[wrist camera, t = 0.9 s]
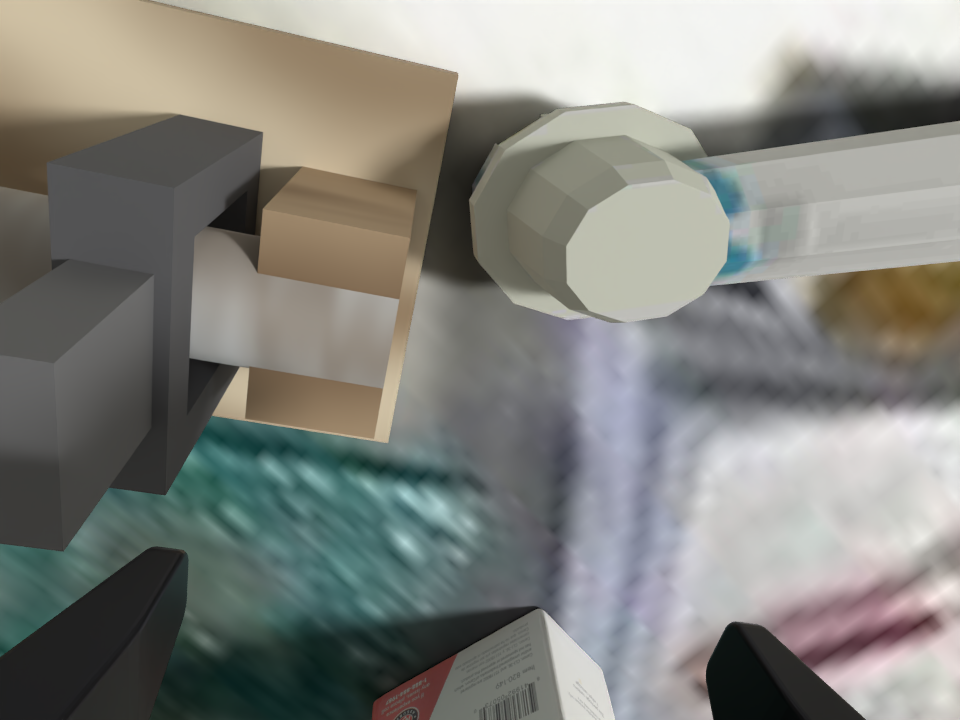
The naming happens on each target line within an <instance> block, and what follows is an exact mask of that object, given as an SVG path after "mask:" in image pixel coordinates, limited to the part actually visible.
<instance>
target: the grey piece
mask: <svg viewBox="0 0 960 720" xmlns="http://www.w3.org/2000/svg"><path fill="white" fill-rule="evenodd" d="M469 205H470V217H471V230H472V242H473V254H474V256H475V258H476V259H477V261H478V263H479V264H480V265H481V266H482V267H483V268H484V269H485V271H486V272H487V273H488V274H489V275H490V276H491V277H492V279H493V280H494V281H495V282H496V283H497V284H498V286H499V287H500V288H501V289H502V290H503V291H504V292H505V294H506V295H507V296H508V297H509V298H510V299H511V300H512V302H513V303H514V304H518V305H521V306H524V307H527V308H531V309H534V310H537V311H540V312H544V313H547V314H550V315H553V316H556V317H560V318H563V319H566V320H575V319H582V318H589V317H595V318H598V319H601V320H604V321H607V322H610V323H624V322H632V321H639V320H645V319H652V318H659V317H666V316H668V315H670V314H672V313H673V312H675V311H677V310H678V309H680V308H682V307H683V306H685V305H686V304H688V303H690V302H691V301H693V300H695V299H696V298H698V297H700V296H701V295H703V294H704V293H705V291H706V290H707V289H708V287H709V286H712V285H722V284H732V283H742V282H752V281H762V280H773V279H783V278H793V277H803V276H813V275H823V274H833V273H843V272H853V271H863V270H873V269H884V268H894V267H904V266H914V265H924V264H934V263H944V262H954V261H960V121H956V122H949V123H942V124H935V125H928V126H921V127H914V128H907V129H900V130H893V131H886V132H879V133H872V134H865V135H858V136H852V137H845V138H838V139H831V140H824V141H817V142H810V143H803V144H796V145H789V146H782V147H775V148H768V149H761V150H755V151H748V152H741V153H734V154H727V155H720V156H713V157H708V156H707V154H706V153H705V151H704V149H703V148H702V146H701V144H700V143H699V141H698V139H697V138H696V136H695V135H694V133H693V131H692V130H691V129H690V128H687V127H685V126H683V125H680V124H678V123H676V122H674V121H671V120H669V119H667V118H664V117H662V116H660V115H658V114H655V113H653V112H651V111H648V110H646V109H644V108H642V107H639V106H637V105H635V104H631V103H627V102H618V103H608V104H598V105H589V106H579V107H569V108H560V109H556V110H554V111H553V112H551V113H550V114H540V118H539V119H538V120H536V121H535V122H533V123H531V124H530V125H528V126H527V127H525V128H524V129H522V130H521V131H519V132H517V133H516V134H514V135H513V136H511V137H510V138H508V139H506V140H505V141H503V142H502V143H500V144H499V145H497V144H496V143H495V145H494V146H493V148H492V150H491V152H490V154H489V155H488V157H487V159H486V161H485V163H484V164H483V166H482V168H481V170H480V172H479V173H478V175H477V177H476V179H475V181H474V182H473V184H472V196H471V197H470V199H469Z"/></svg>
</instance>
